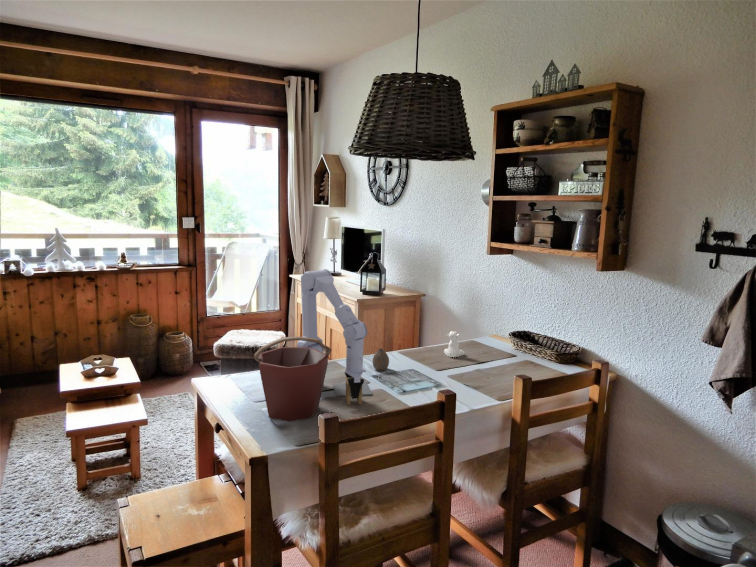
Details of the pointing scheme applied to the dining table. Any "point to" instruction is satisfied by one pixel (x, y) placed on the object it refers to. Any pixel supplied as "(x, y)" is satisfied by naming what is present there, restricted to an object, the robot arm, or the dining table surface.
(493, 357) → the dining table surface
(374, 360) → the vase
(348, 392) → the stool
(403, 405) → the dining table surface
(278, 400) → the bucket
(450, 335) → the seated beast figurine
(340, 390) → the mat
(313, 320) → the robot arm
